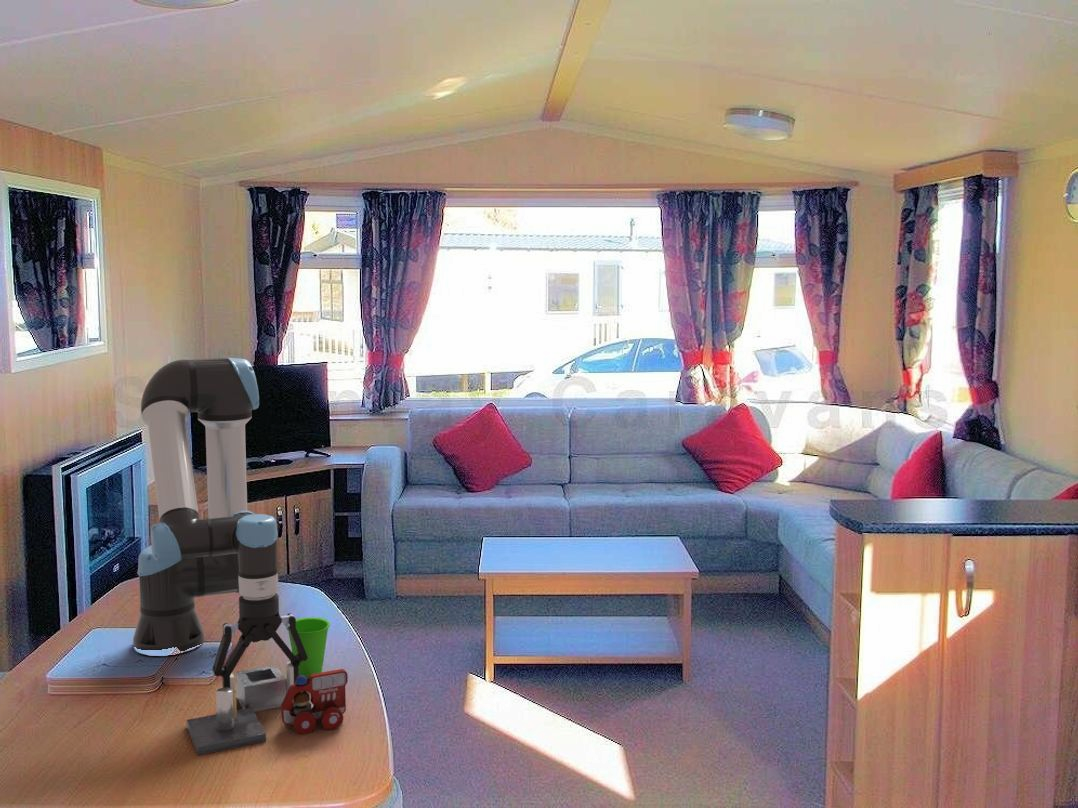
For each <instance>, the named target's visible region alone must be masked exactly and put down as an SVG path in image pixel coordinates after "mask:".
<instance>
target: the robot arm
mask: <svg viewBox="0 0 1078 808" xmlns="http://www.w3.org/2000/svg"><path fill="white" fill-rule="evenodd" d="M257 381H258V380H257V377H256V373H255V370H254V368H253V366H252V364H251V362H250V361H249V360H247V359H245V358H237V357H234V358H233V357H221V358H220V357H219V358H218V357H217V358H203V359H202V358H198V359H197V358H196V359H177V360H173V361H171V362H169V363H166V364H165V365H164V366H162V367H160V368H159V369H158V370H157V371H156V372H155V373H154V374H153V375H152V377H151V378H150V379H149V381H148V382H147V384H146V386H145V388H144V391H143V394H142V398H141V402H140V413H141V420H142V422H143V423H144V424H145V426H147V427H148V436H149V444H150V453H151V461H152V469H153V477H154V485H155V494H156V501H157V510H158V519H159V522H157V523H154V524H152V525H151V528H150V545H149V546H147V547H145V548H144V549H143V550H142V551H141V552H140V553H139V555H138V560H137V561H138V564H137V565H138V568H137V575H138V584H139V586H138V587H139V589H138V591H139V612H140V613H139V617H138V620H137V624H136V628H135V631H134V635H133V638H132V645H134V647H136V648H137V649H141V650H162V649H168V648H172V647H174V648H175V647H177V648H178V649H179V650H180V651H185V650H187V649H189V648H192V647H195V646H197V645H200V644H202V643H203V644H204V643H205V631H204V628H203V626H202V623H201V620H200V618H199V615H198V613H197V610H196V605H195V604H196V603H195V600H196V599H195V598H200V597H202V598H203V597H208V596H209V597H210V596H217V595H224V594H232V593H233V594H234V593H235V594H239V595H240V596H239V597H238V609H239V610H238V611H239V612H238V613H239V614H238V615H239V618H238V621H237V622H236V623H230V624H229V623H228V622H224V623H223V624H222V637H221V640H220V642H219V645H218V649H217V652H216V655H215V659H214V661H213V665H212V668H211V671H212V672H213V675H214V676H216V677H222V688H224V687H229V688H232V689H233V691H236V687H235V682H236V681H235V675H234V674H233V671H234V670H235V668H236V666H237V665H238V664H239V662H240V660H241V658H242V657H243V655H244V653H245V651H246V649H247V648H248V647H250V645H251V643H258V642H261V641H265V642H266V641H270V639H272V640H273V641H274V642H275V644H277V646H278V647H279V648H280V650H281V651H282V652H283V653H284V655H285V656H286V657H287V658H288V659H289V661H287V662H286V663H285V665H286V666H285V667H286V693H287V692H288V689H289V687H290V686H291V685H293V684H295V681H296V678H297V677H298V676H299V669H298V666H299V665H300V662H302V661H306V660H307V659H308V656H307V654H306V652H305V649H304V647H303V644H302V642H301V639H300V637H299V634H298V632H297V629H296V617H295V615H293V613H291V612H289V613H287V614H286V615H282V616H281V615H280V602H279V600H280V598H279V597H280V595H279V594H278V592H279V574H278V573H279V567H278V566H279V565H278V563H279V561H278V537H279V532H278V529H277V520H276V518H275V517H274V516H273V515H268V514H263V513H254V512H253V511H250V510H248V490H247V489H248V487H247V486H248V485H247V484H248V483H247V456H246V454H247V451H246V424H247V423H248V422H249V421H250V420H251V419H252V418H253V417H252V414H253V410H254V411H255V410H257V409H258V408H259V406H260V394H259V387H258V383H257ZM190 413H197V420H198V422H200V423H202V425H204V427H205V448H206V449H205V451H206V452H205V453H206V454H205V455H206V456H205V457H206V480H207V483H206V484H207V507H208V508H207V511H208V513H207V514H208V518H200V513H199V507H198V497H197V493H196V486H195V480H194V479H195V478H194V472H193V464H192V458H191V450H190V444H189V437H188V430H187V423H186V421H187V420H188V419H189V416H190ZM282 623H283V625H284V626H285V628H286V627H288V630H289V632H290V635H291V637H292V640H293V642H294V644H295V647H296V649H297V652H298V654H297V655H294V654H293V653H292V649H290V648H289V646H288V645H287V644H286V642H285V641H284V640H283V638H281V636H280V635H279V633H278V632H277V630H278V629H279V627H280V626H281V624H282ZM238 630H239V632H241V635H239V636H240V637H239V639H238V641H237V643H236V644H235V647H234V648H233V650H232V651H231V653H230V654H229V657H228V658H226V657H227V656H228V652H229V649H230V646H231V643H232V637H234V636H235V634H236V631H238ZM288 630H287V631H288ZM289 632H288V633H289ZM203 644H202V645H203ZM226 659H227V660H226ZM225 661H226V662H225Z"/></svg>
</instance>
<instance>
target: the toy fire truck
mask: <svg viewBox="0 0 1078 808" xmlns="http://www.w3.org/2000/svg"><path fill="white" fill-rule="evenodd" d="M348 678H349V677H348V672H347V671H346V670H345V669H344V668H340V669H334V670H333V669H332V670H328V671H327V670H326V671H322V672H321V673H315V674H311V675H310V676H309V677H308V679H307V678H306V677H305V676H304V675H299V676H298V677H297V678H296V680H295V683H294V684H293V685H291V686H290V687H289V689H288V692H287V691H286V696H285V698H284V700H283V702H282V704H281V707H280V709H281V710H280V711H281V715H280V716H281V722H282V723H283V724H284V725H286V726H288V725H293V728H294V730H295V731H296V732H297V733H298V734H301V735H306V734H310V733H311V732H312V731H313V730H314V729H315V727H316V726H317V721H316V720H320V722H321V724H322V726H323V727H324V728H325V729H326V730H331V731H333V730H335V729H338V728H339V727H340V726H341V725H342V723H344V722H343V721H344V714H345V713H346V710H347V702H346V699H347V698H346V685H347V684H348ZM311 703H312V704H311ZM312 705H313V706H312Z"/></svg>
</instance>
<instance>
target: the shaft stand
mask: <svg viewBox="0 0 1078 808" xmlns="http://www.w3.org/2000/svg"><path fill="white" fill-rule="evenodd" d="M215 699H216V700H215V702H216V705H215V706H216V714H210V715H205V716H200V717H195V718H189V719H186V728H187V732H188V734H189V736H190V739H191V740H192V741H191V742H192V744H193V746H194V749H195V752H196V754H197V756H202V755H207V754H210V753H217V752H221V751H225V750H230V749H235V748H241V747H245V746H249V745H250V746H251V745H255V744H258V743H259V742H260V743H264V741H265V742H266V741H267V732H266V731H265V728H264V727H263V726H262V723H260V720H259V719H258V716H257V715H256V712H254V711H253V709H252V708H246V709H243V708H241V709H237V690H235V691H233V689H232V688H229V687H224V688H223V687H220V688H218V689H217V690H215ZM260 743H259V744H260Z"/></svg>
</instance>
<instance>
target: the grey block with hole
mask: <svg viewBox="0 0 1078 808" xmlns="http://www.w3.org/2000/svg"><path fill="white" fill-rule="evenodd" d="M235 672H236V673H235V676H236V679H235V680H236V681H235V682H236V700H237V701H238V703H239V704H240V707H241V709H246V708H252V709H253V711H254V713H257V712H261V711H268V710H271V709H272V710H273V709H277V708H281V704H282V702H283V700H284V698H285V696H286V694H287V677H286V676H284V674H283V673H282V671H281V670H280V668H279V666H278V665H277V664H273V665H268V666H262V667H256V668H255V667H254V668H250V669H249V668H248V669H244V670H238V671H237V670H236V671H235Z"/></svg>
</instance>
